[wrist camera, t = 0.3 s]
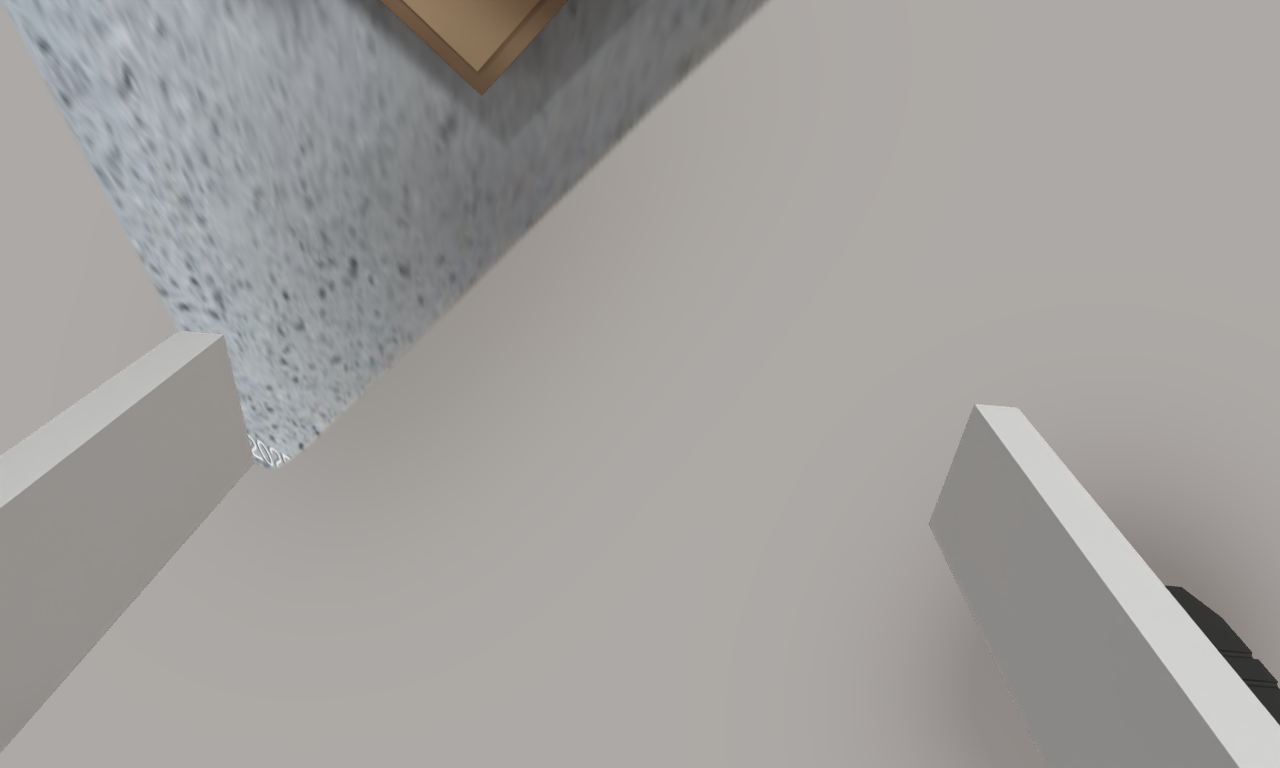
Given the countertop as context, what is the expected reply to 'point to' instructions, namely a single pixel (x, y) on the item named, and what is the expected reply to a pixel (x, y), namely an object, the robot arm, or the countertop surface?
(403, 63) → the countertop surface
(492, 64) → the stand
